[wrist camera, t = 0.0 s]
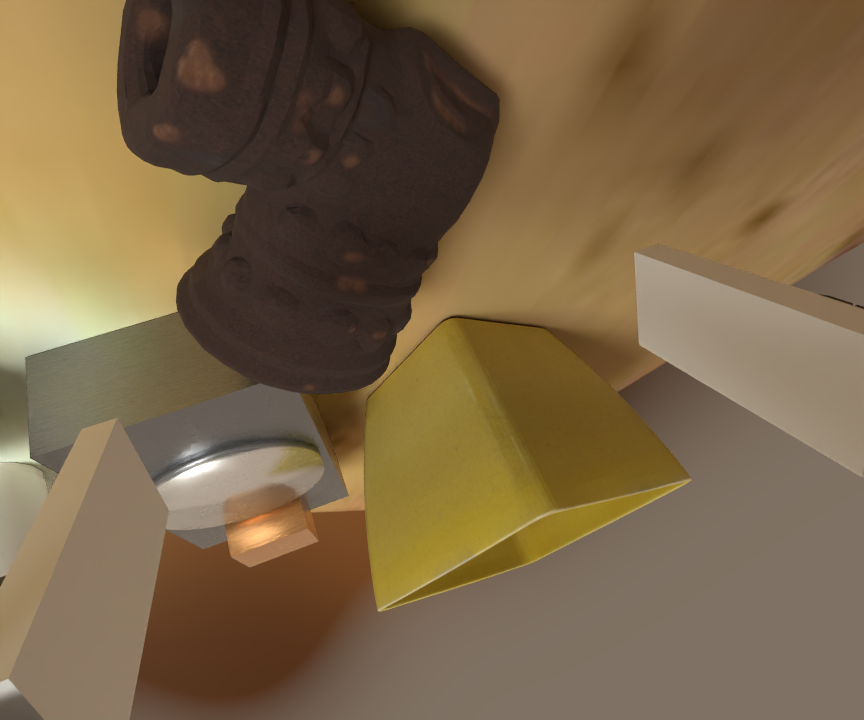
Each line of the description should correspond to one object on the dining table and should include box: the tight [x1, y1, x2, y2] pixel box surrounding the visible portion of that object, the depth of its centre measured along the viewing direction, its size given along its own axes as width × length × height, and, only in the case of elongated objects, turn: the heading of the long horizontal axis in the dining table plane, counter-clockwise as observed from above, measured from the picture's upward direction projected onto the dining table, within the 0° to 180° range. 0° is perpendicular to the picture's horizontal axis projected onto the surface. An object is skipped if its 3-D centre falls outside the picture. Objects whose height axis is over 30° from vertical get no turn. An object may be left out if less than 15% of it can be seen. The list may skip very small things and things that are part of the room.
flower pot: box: [364, 318, 692, 611], centre depth 47 cm, size 19×19×17 cm
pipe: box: [117, 0, 499, 394], centre depth 24 cm, size 10×15×15 cm
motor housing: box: [25, 312, 349, 567], centre depth 40 cm, size 24×13×9 cm, turn 0°
